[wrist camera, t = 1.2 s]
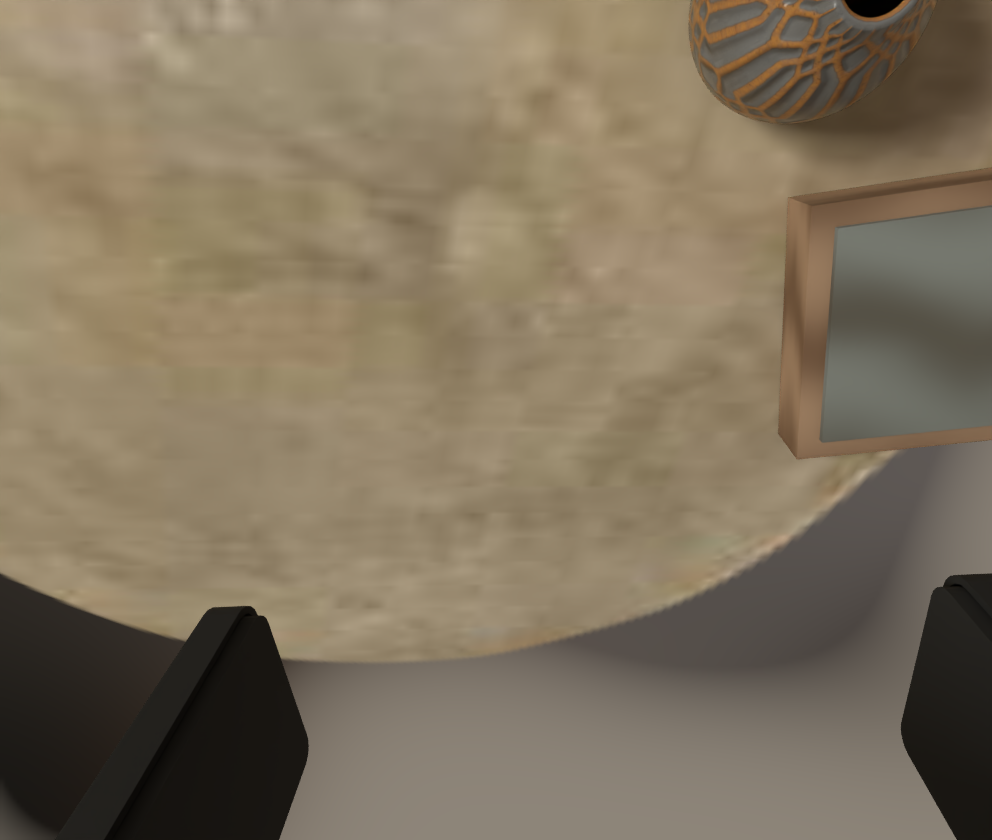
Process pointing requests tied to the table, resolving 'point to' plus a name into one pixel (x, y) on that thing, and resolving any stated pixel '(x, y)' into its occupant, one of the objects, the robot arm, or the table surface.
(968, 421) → the plinth
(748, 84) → the vase
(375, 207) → the table surface
